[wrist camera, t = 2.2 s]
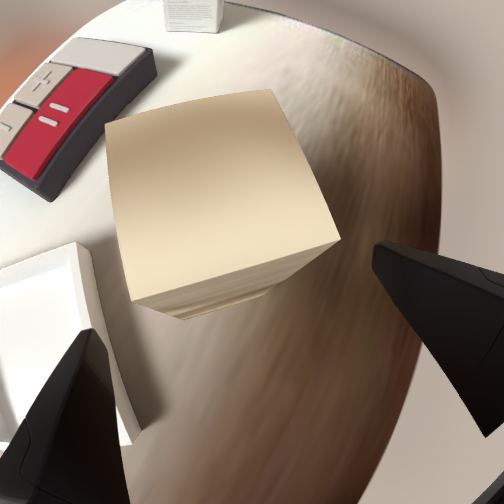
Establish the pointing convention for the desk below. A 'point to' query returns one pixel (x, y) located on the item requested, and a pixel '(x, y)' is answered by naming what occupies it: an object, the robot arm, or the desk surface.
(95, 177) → the desk surface
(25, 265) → the white tray
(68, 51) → the calculator
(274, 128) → the birch block
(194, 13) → the skincare box
